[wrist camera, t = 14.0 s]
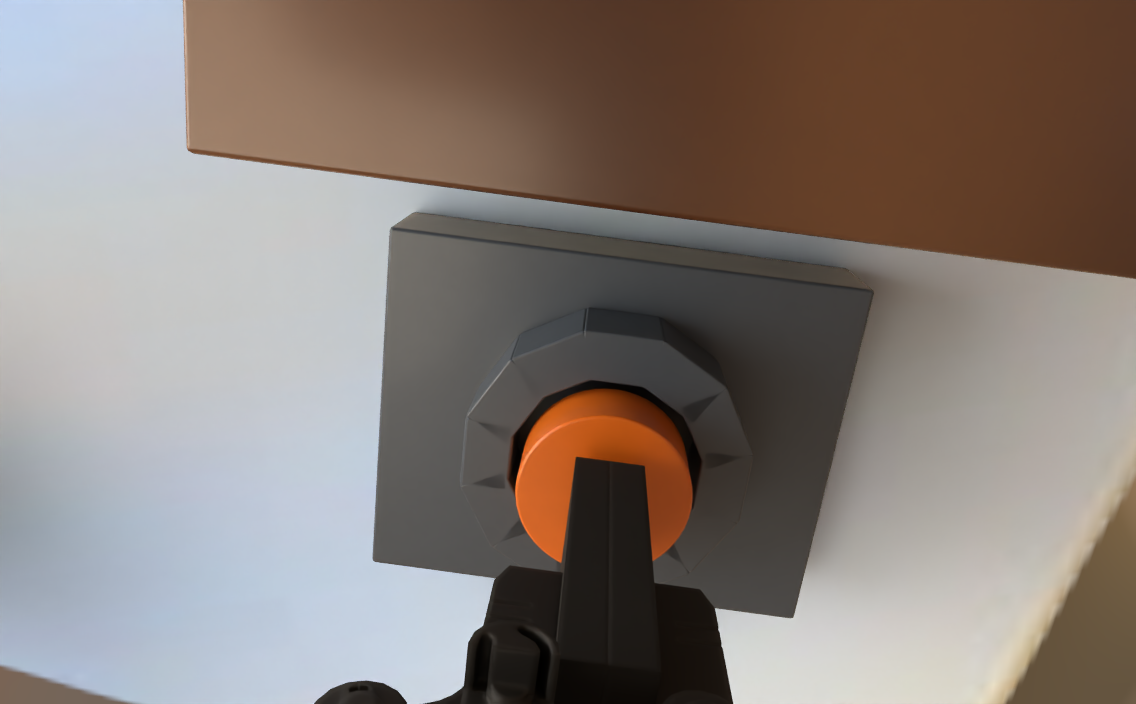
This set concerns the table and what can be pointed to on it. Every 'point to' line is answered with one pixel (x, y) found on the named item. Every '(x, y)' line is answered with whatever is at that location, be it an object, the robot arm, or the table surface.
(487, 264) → the panel
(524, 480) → the button
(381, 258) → the table surface
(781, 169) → the box lid
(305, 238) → the table surface
